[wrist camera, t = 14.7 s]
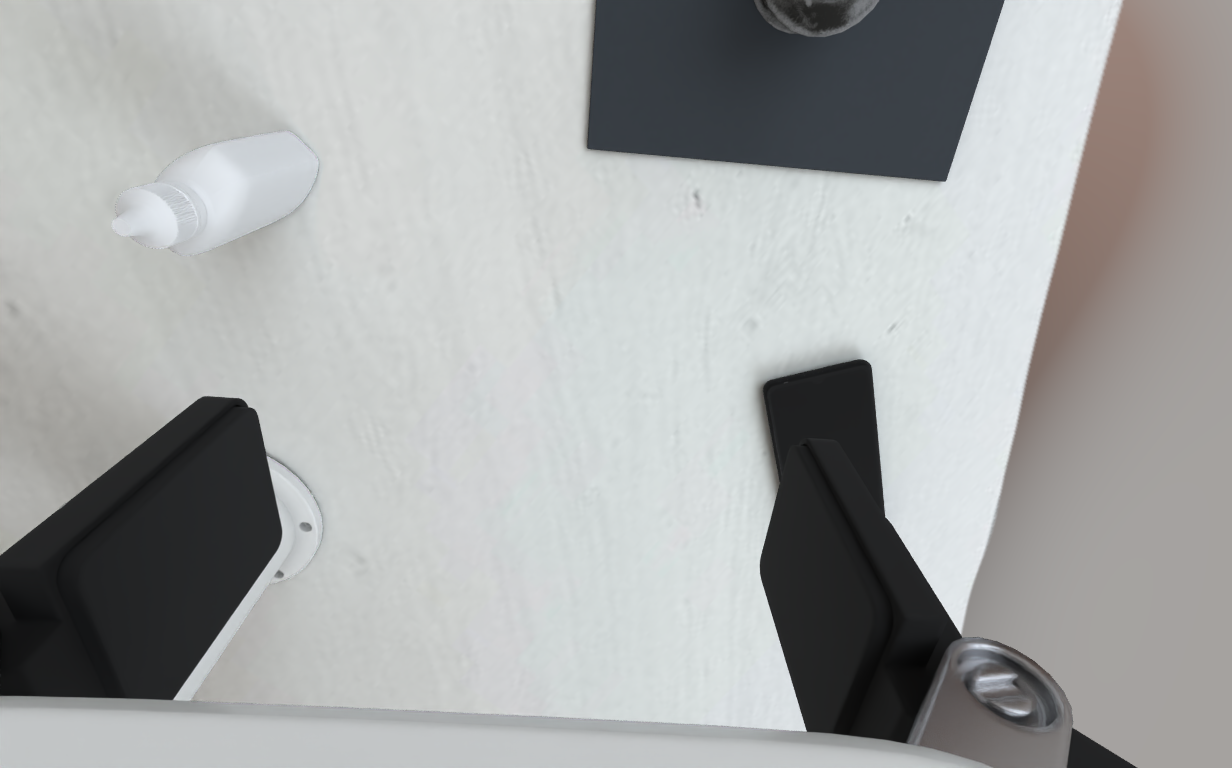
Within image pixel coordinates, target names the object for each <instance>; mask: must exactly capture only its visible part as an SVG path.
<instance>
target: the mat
mask: <svg viewBox="0 0 1232 768" xmlns="http://www.w3.org/2000/svg"><path fill="white" fill-rule="evenodd" d="M1003 3H1004V0H879V1H878V3H877V4H876V6H875V7H874V9H873V10H872V11H870V12H869V13H868V14H867V15H866V16H865V17H864V18H863V19H862V20H861V21H860V22H859V23H857V24H855V25H854V26H852V27H850V28H849V29H847V30H845V31H844V32H841V33H837V34H834V35H830V36H826V37H808V36H805V35H802V34H789V33H786V32H783V31H781V30H778V29H776V28H775V27H773V26H772V25H771V24H769V23H768V22H767V21H765V19H764V18H763V16H762V15H761V14H760V12H759V11H758V10H757V7H756V5H755V2H754V0H596V15H595V32H594V48H593V65H592V81H591V98H590V114H589V131H588V147H587V148H588V149H594V150H605V151H616V152H627V153H638V154H649V155H660V156H671V157H682V158H693V159H704V160H715V161H726V162H737V163H748V164H759V165H770V166H781V167H792V168H803V169H814V170H825V171H835V172H846V173H857V174H868V175H879V176H890V177H901V178H912V179H923V180H934V181H946V180H947V176H948V173H949V170H950V167H951V164H952V161H953V158H954V155H955V152H956V149H957V146H958V143H959V139H960V136H961V133H962V130H963V127H964V124H965V121H966V118H967V115H968V112H969V109H970V105H971V102H972V99H973V96H974V93H975V90H976V87H977V84H978V81H979V78H980V75H981V71H982V68H983V65H984V62H985V59H986V56H987V53H988V50H989V47H990V44H991V41H992V37H993V34H994V31H995V28H996V25H997V22H998V19H999V16H1000V13H1001V10H1002V7H1003Z"/></svg>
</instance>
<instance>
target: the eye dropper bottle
mask: <svg viewBox="0 0 1232 768" xmlns="http://www.w3.org/2000/svg"><path fill="white" fill-rule="evenodd" d="M318 168H319V161H318V158H317V156H316V155H315V153H314V152H313V151H312V150H311V149H310V148H309V147H308V146H307V145H306V144H304V143H303V142H302V141H301V140H300V139H299V138H298V137H297V136H296V135H295V134H293V133H292V132H290V131H277V132H271V133H266V134H260V135H254V136H249V137H243V138H238V139H232V140H227V141H222V142H218V143H213V144H209V145H205V146H203V147H200V148H197V149H194V150H192V151H190V152H188V153H186V154H184V155H182V156H181V157H179V158H178V159H176V160H175V161H173V162H172V163H171V164H169V165H168V166H167V167H166V168H165V169H164V170H163V171H162V172H161V173H160V175H159V176H158V177H157V179H156V180H155V182H154V183H150V184H146V185H142V186H137V187H133V188H130V189H127V190H125V191H124V192H122V194H120V196H119V197H118V198H117V201H116V207H115V208H116V209H115V211H116V216H117V217H116V218H115V219H113V221H112V228H113V230H114V231H115V232H116V233H117V234H118V235H120V236H129V237H131V238H132V239H133V240H135V241H136V242H138V243H139V244H141V245H144V246H145V247H146V246H147V247H149V248H155V249H160V248H161V249H163V248H169V249H170V250H172V251H173V252H175V253H177V254H179V255H182V256H193V255H197V254H201V253H204V252H206V251H209V250H211V249H214V248H216V247H219V246H221V245H223V244H226V243H228V242H230V241H232V240H235V239H237V238H239V237H242V236H244V235H246V234H248V233H251V232H253V231H255V230H258V229H260V228H262V227H264V226H267V225H269V224H271V223H273V222H275V221H278V220H280V219H281V218H283V217H285V216H287V215H288V214H290V213H291V212H292V211H293V210H295V209H296V208H297V207H298V206H299V205H300V204H301V203H302V202H303V201H304V199H305V198H306V197H307V195H308V194H309V192H310V190H311V188H312V186H313V184H314V182H315V179H316V176H317V173H318Z"/></svg>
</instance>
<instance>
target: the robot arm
mask: <svg viewBox="0 0 1232 768" xmlns="http://www.w3.org/2000/svg"><path fill="white" fill-rule="evenodd" d="M322 532H323V524H322V516H321V513H320V510H319V508H318V505H317V503H316V501H315V499H314V498H313V496H312V494H311V493H310V491H309V490H308V488H307V487H306V486H305V485H304V484H303V483H302V482H301V480H300V479H299V478H298V477H297V476H295V475H294V474H293V473H292V472H291V471H289V470H288V469H287V468H286V467H285V466H283V465H282V464H280V463H278V462H277V461H275V460H273V459H272V458H270V457H268V456H266V451H265V446H264V442H263V437H262V433H261V428H260V423H259V419H258V415H257V412H256V411H255V410H254V409H253V408H248V405H247V404H246V402H245V401H244V400H242V399H239V398H225V397H210V396H205V397H202V398H200V399H198V400H197V401H195V402H194V403H193V404H192V405H190V406H189V407H188V408H187V409H185V410H184V411H183V412H182V413H180V414H179V415H178V416H176V417H175V418H174V419H173V420H171V421H170V422H169V423H168V424H166V425H165V426H164V427H163V428H161V429H160V430H159V431H157V432H156V433H155V434H154V435H152V436H151V437H150V438H149V439H147V440H146V441H145V442H144V443H142V444H141V445H140V446H138V447H137V448H136V449H135V450H133V451H132V452H131V453H130V454H128V455H127V456H126V457H124V458H123V459H122V460H121V461H119V462H118V463H117V464H116V465H114V466H113V467H112V468H111V469H109V470H108V471H107V472H105V473H104V474H103V475H102V476H100V477H99V478H98V479H97V480H95V481H94V482H93V483H92V484H90V485H89V486H88V487H86V488H85V489H84V490H83V491H81V492H80V493H79V494H78V495H76V496H75V497H74V498H73V499H71V500H70V501H69V502H67V503H65V504H64V505H62V506H61V507H60V508H59V510H57V511H56V512H55V513H54V514H52V515H51V516H50V517H48V518H47V519H46V520H45V521H43V522H42V523H41V524H40V525H38V526H37V527H36V528H35V529H33V530H32V531H31V532H29V533H28V534H27V535H26V536H24V537H23V538H22V539H21V540H19V541H18V542H17V543H16V544H14V545H13V546H12V547H10V548H9V549H8V550H7V551H5V552H4V553H3V554H2V555H0V768H1137V767H1135V766H1133V765H1132V764H1130V763H1129V762H1127V761H1125V760H1124V759H1122V758H1121V757H1119V756H1117V755H1115V754H1114V753H1112V752H1111V751H1109V750H1108V749H1106V748H1104V747H1103V746H1101V745H1099V744H1098V743H1096V742H1094V741H1093V740H1091V739H1090V738H1088V737H1086V736H1085V735H1083V734H1081V733H1080V732H1078V731H1077V730H1075V729H1073V728H1072V725H1073V717H1072V708H1071V705H1070V703H1069V701H1068V699H1067V697H1066V695H1065V693H1064V691H1063V690H1062V689H1061V687H1060V686H1059V685H1058V684H1057V683H1056V681H1055V680H1054V679H1053V678H1052V676H1051V675H1050V674H1049V673H1047V672H1046V671H1045V670H1044V669H1043V668H1042V667H1040V666H1039V665H1038V664H1037V663H1036V662H1035V661H1033V660H1032V659H1030V658H1029V657H1027V656H1025V655H1023V654H1022V653H1021V652H1019V651H1017V650H1015V649H1013V648H1011V647H1009V646H1007V645H1004V644H1002V643H999V642H997V641H993V640H989V639H984V638H980V637H968V638H962V636H961V634H960V633H959V631H958V630H957V628H956V626H955V625H954V623H953V622H952V620H951V618H950V617H949V615H948V614H947V612H946V610H945V609H944V607H943V606H942V604H941V602H940V601H939V599H938V598H937V596H936V594H935V593H934V591H933V590H932V588H931V586H930V585H929V583H928V582H927V580H926V578H925V577H924V575H923V574H922V572H921V570H920V569H919V567H918V566H917V564H916V562H915V561H914V559H913V558H912V556H911V555H910V553H909V551H908V550H907V548H906V547H905V545H904V543H903V542H902V540H901V539H900V537H899V535H898V534H897V532H896V531H895V529H894V527H893V526H892V524H891V523H890V522H889V521H888V520H887V518H885V516H884V515H883V513H882V511H881V510H880V508H879V507H878V505H877V503H876V502H875V500H874V499H873V497H872V495H871V494H870V492H869V491H868V489H867V487H866V486H865V484H864V482H863V481H862V479H861V478H860V476H859V474H858V473H857V471H856V470H855V468H854V466H853V465H852V463H851V462H850V460H849V458H848V457H847V455H846V453H845V452H844V450H843V449H842V447H841V445H840V444H839V443H838V442H837V441H836V440H828V439H813V438H804V439H802V440H801V442H800V443H799V445H792V446H791V447H790V449H789V451H788V454H787V458H786V462H785V466H784V470H783V474H782V477H781V481H780V485H779V489H778V493H777V497H776V500H775V504H774V508H773V512H772V516H771V520H770V524H769V527H768V531H767V535H766V539H765V543H764V547H763V551H762V554H761V559H760V575H761V580H762V583H763V586H764V590H765V593H766V596H767V600H768V603H769V606H770V610H771V613H772V616H773V620H774V623H775V627H776V630H777V633H778V637H779V640H780V643H781V647H782V650H783V653H784V657H785V660H786V663H787V667H788V670H789V673H790V677H791V680H792V683H793V687H794V690H795V693H796V697H797V700H798V703H799V707H800V710H801V713H802V717H803V720H804V723H805V727H806V730H807V732H802V731H788V730H774V729H759V728H745V727H730V726H715V725H695V724H676V723H657V722H638V721H619V720H600V719H580V718H561V717H542V716H520V715H499V714H478V713H457V712H436V711H414V710H392V709H370V708H348V707H326V706H301V705H277V704H252V703H228V702H203V701H191V699H192V698H193V696H194V695H195V693H196V692H197V690H198V689H199V687H200V686H201V684H202V683H203V681H204V680H205V678H206V677H207V675H208V674H209V672H210V671H211V669H212V668H213V666H214V665H215V663H216V662H217V660H218V659H219V657H220V656H221V654H222V653H223V651H224V650H225V648H226V647H227V645H228V644H229V642H230V641H231V639H232V638H233V636H234V635H235V633H236V632H237V630H238V629H239V627H240V626H241V624H242V623H243V621H244V620H245V618H246V617H247V615H248V614H249V612H250V611H251V610H252V608H253V607H254V605H255V604H256V602H257V601H258V599H259V598H260V596H261V595H262V593H263V592H264V590H265V589H266V587H267V586H268V584H274V583H278V582H281V581H283V580H286V579H289V578H291V577H292V576H294V575H296V574H297V573H299V572H300V571H301V570H302V569H304V568H305V567H306V566H307V565H308V564H309V562H310V561H311V559H312V558H313V556H314V555H315V553H316V552H317V549H318V547H319V545H320V543H321V539H322Z"/></svg>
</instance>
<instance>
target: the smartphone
mask: <svg viewBox="0 0 1232 768" xmlns="http://www.w3.org/2000/svg"><path fill="white" fill-rule="evenodd" d="M763 393H764V399H765V404H766V410H767V415H768V421H769V426H770V432H771V437H772V442H773V448H774V453H775V459H776V464H777V469H778V475H779V480H780V481H781V477H782V474H783V470H784V466H785V462H786V458H787V454H788V451H789V449H790V447H791V446H792V445H799V443H800V442H801V440H802V439H804V438H813V439H828V440H836V441H837V442H838V443H839V444H840V445H841V447H842V449H843V450H844V452H845V453H846V455H847V457H848V458H849V460H850V462H851V463H852V465H853V466H854V468H855V470H856V471H857V473H858V474H859V476H860V478H861V479H862V481H863V482H864V484H865V486H866V487H867V489H868V491H869V492H870V494H871V495H872V497H873V499H874V500H875V502H876V503H877V505H878V507H879V508H880V510H881V511H882V513H883V515H884V516H885V510H884V499H883V488H882V477H881V465H880V454H879V443H878V432H877V421H876V409H875V398H874V387H873V377H872V368H871V365H870V364H869V363H868V362H867V361H865V360H862V359H858V360H854V361H849V362H845V363H841V364H837V365H832V366H828V367H824V368H820V369H815V370H811V371H807V372H803V373H798V374H794V375H790V376H786V377H782V378H778V379H774V380H770V381H768V382H767V383H766V384H765V386H764V388H763Z"/></svg>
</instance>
